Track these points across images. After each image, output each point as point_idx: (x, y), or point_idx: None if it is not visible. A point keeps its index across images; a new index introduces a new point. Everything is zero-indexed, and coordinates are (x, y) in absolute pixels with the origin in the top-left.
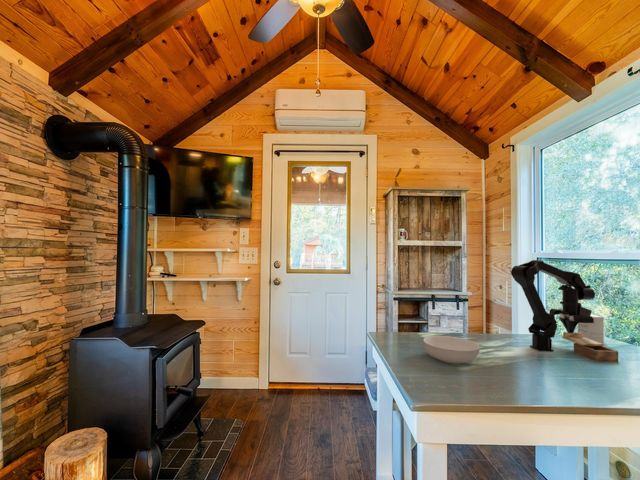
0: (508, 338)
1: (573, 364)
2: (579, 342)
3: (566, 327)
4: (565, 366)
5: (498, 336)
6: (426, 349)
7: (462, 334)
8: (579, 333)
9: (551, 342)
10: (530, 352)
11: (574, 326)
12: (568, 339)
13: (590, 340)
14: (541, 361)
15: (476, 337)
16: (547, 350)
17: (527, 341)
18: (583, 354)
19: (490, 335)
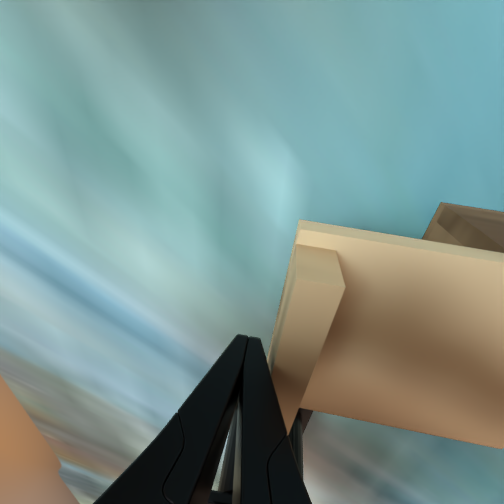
0: (90, 400)
1: (493, 462)
2: (463, 437)
3: (217, 462)
4: (487, 491)
5: (64, 409)
6: None
7: (74, 471)
8: (327, 331)
9: (291, 438)
10: (303, 464)
11: (291, 484)
12: (336, 409)
13: (485, 297)
14: (404, 500)
15: (106, 465)
16: (307, 421)
17: (130, 370)
18: None
19: (56, 421)
